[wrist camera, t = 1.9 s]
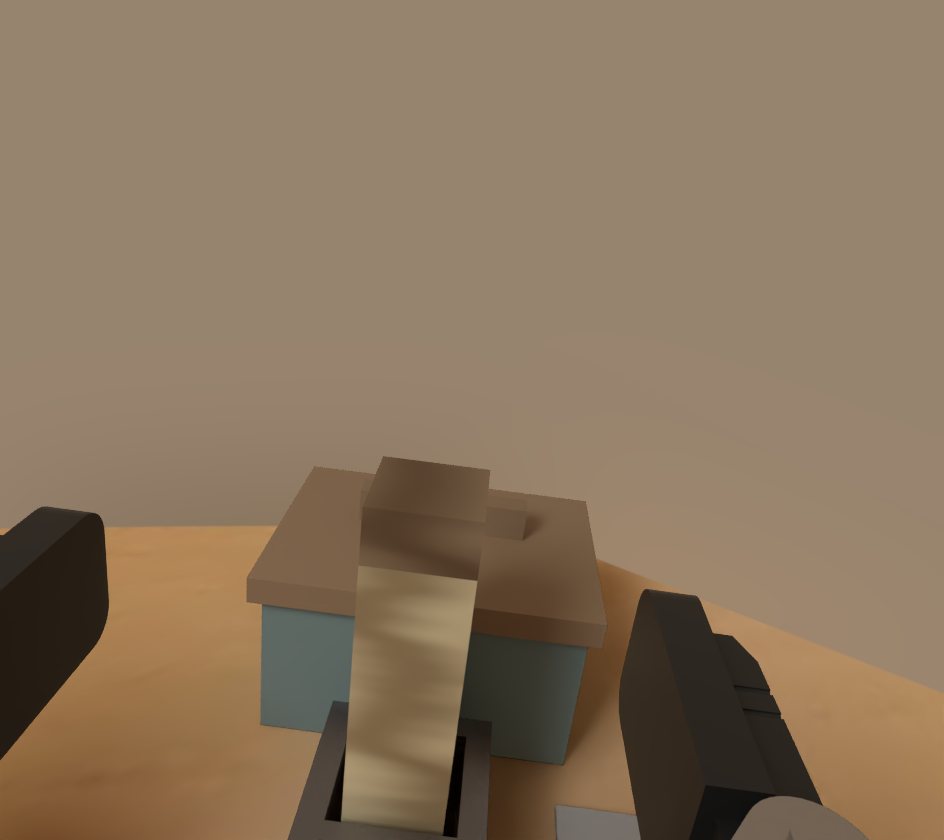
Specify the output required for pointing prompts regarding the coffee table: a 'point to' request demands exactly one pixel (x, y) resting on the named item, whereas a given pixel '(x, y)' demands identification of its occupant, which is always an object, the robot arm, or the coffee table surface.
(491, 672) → the toolbox
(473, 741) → the gray open box
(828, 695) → the coffee table surface
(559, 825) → the rubber mat
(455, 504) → the mottled beige block
